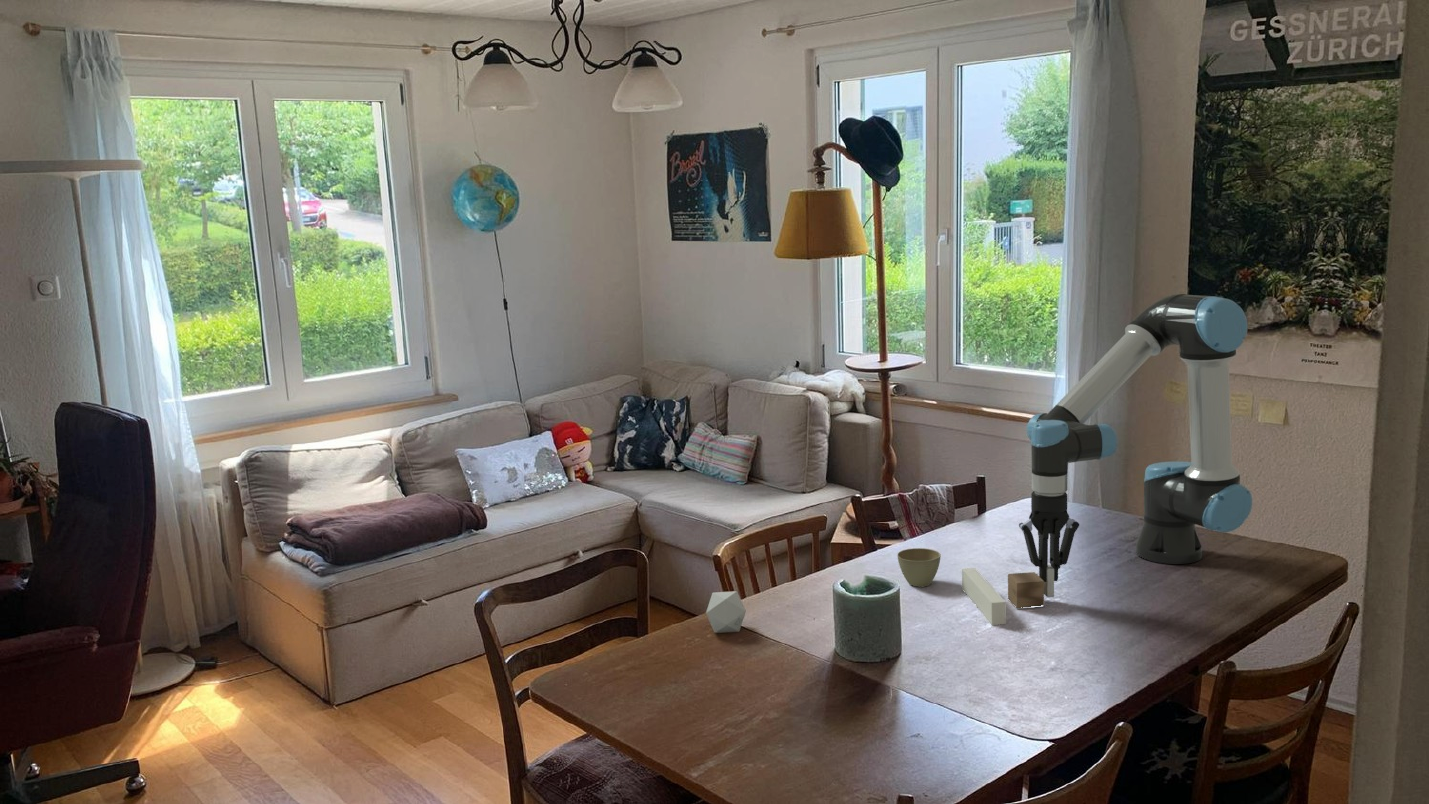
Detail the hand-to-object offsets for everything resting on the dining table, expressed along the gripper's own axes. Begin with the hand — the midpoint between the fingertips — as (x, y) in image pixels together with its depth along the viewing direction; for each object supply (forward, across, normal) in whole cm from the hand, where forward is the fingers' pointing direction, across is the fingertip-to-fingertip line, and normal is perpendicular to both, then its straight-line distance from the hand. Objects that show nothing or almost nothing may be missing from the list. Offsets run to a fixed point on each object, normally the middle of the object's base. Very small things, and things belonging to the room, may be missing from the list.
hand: (1048, 594), depth 244 cm
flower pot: (+2, +25, -17) cm, 30 cm away
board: (+2, +15, 0) cm, 15 cm away
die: (+2, +72, +3) cm, 72 cm away
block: (+2, +5, 0) cm, 5 cm away
